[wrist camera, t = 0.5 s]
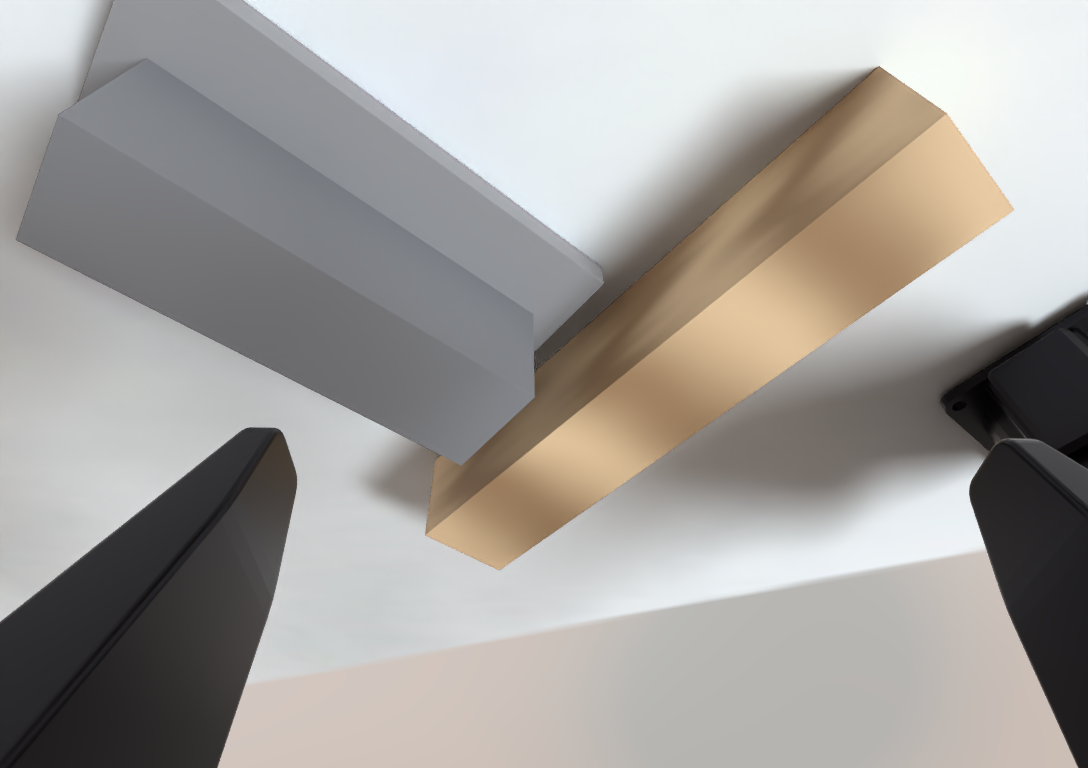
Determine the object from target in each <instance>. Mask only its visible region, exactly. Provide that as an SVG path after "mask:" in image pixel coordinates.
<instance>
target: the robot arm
mask: <svg viewBox="0 0 1088 768" xmlns="http://www.w3.org/2000/svg"><path fill="white" fill-rule="evenodd" d="M940 404H941V406H942V407H943V409H944V410H945V412H946V413H947V414H948V415H949V416H950V417H951V418H952V419H954V420H955V421H956V422H957V423H958V424H959V425H960V426H961V427H963V428H964V429H965V430H966V431H967V432H968V433H969V434H970V435H972V436H973V437H974V438H975V439H976V440H977V441H978V442H980V443H981V444H982V445H983V446H984V447H985V448H986V449H987V450H989V451H990V452H989V454H988V456H987V457H986V459H985V460H984V462H983V463H982V465H981V466H980V468H979V470H978V471H977V473H976V474H975V476H974V477H973V479H972V481H971V484H970V489H969V495H970V501H971V504H972V507H973V510H974V513H975V516H976V519H977V522H978V525H979V528H980V531H981V535H982V538H983V541H984V544H985V547H986V550H987V553H988V556H989V559H990V561H991V565H992V568H993V571H994V574H995V577H996V580H997V582H998V586H999V589H1000V592H1001V595H1002V597H1003V600H1004V603H1005V605H1006V608H1007V611H1008V613H1009V615H1010V618H1011V620H1012V623H1013V625H1014V627H1015V630H1016V631H1017V633H1018V636H1019V638H1020V641H1021V643H1022V645H1023V647H1024V649H1025V651H1026V654H1027V656H1028V658H1029V660H1030V663H1031V665H1032V667H1033V669H1034V671H1035V674H1036V675H1037V678H1038V680H1039V682H1040V684H1041V687H1042V689H1043V691H1044V693H1045V696H1046V698H1047V700H1048V702H1049V704H1050V707H1051V709H1052V711H1053V713H1054V715H1055V718H1056V720H1057V722H1058V724H1059V726H1060V729H1061V731H1062V733H1063V735H1064V737H1065V740H1066V742H1067V744H1068V746H1069V749H1070V751H1071V753H1072V755H1073V757H1074V759H1075V762H1076V764H1077V766H1078V768H1088V305H1086V306H1085V307H1083V308H1081V309H1080V310H1078V311H1077V312H1075V313H1073V314H1072V315H1070V316H1069V317H1067V318H1066V319H1064V320H1062V321H1061V322H1059V323H1058V324H1056V325H1054V326H1053V327H1051V328H1050V329H1048V330H1046V331H1045V332H1043V333H1042V334H1040V335H1038V336H1037V337H1035V338H1034V339H1032V340H1031V341H1029V342H1027V343H1026V344H1024V345H1023V346H1021V347H1019V348H1018V349H1016V350H1015V351H1013V352H1011V353H1010V354H1008V355H1007V356H1005V357H1003V358H1002V359H1000V360H999V361H997V362H995V363H994V364H992V365H991V366H989V367H988V368H986V369H984V370H983V371H981V372H980V373H978V374H976V375H975V376H973V377H972V378H970V379H968V380H967V381H965V382H964V383H962V384H960V385H959V386H957V387H956V388H954V389H952V390H951V391H949V392H948V393H946V394H945V395H944V396H943V397H942V399H941V401H940ZM296 489H297V475H296V470H295V467H294V464H293V461H292V458H291V455H290V452H289V449H288V446H287V443H286V440H285V437H284V435H283V433H282V432H281V431H280V430H279V429H276V428H252V427H251V428H246V429H244V430H242V431H241V432H239V433H238V434H237V435H235V436H234V437H233V438H232V439H230V440H229V441H228V442H227V443H225V444H224V445H223V446H221V447H220V448H219V449H218V450H216V451H215V452H214V453H213V454H211V455H210V456H209V457H208V458H206V459H205V460H204V461H203V462H201V463H200V464H199V465H198V466H196V467H195V468H194V469H192V470H191V471H190V472H189V473H187V474H186V475H185V476H184V477H182V478H181V479H180V480H179V481H177V482H176V483H175V484H174V485H172V486H171V487H170V488H168V489H167V490H166V491H165V492H163V493H162V494H161V495H160V496H158V497H157V498H156V499H155V500H153V501H152V502H151V503H150V504H148V505H147V506H146V507H145V508H143V509H142V510H141V511H139V512H138V513H137V514H136V515H134V516H133V517H132V518H131V519H129V520H128V521H127V522H126V523H124V524H123V525H122V526H121V527H119V528H118V529H117V530H116V531H114V532H113V533H112V534H110V535H109V536H108V537H107V538H105V539H104V540H103V541H102V542H100V543H99V544H98V545H97V546H95V547H94V548H93V549H92V550H90V551H89V552H88V553H87V554H85V555H84V556H83V557H81V558H80V559H79V560H78V561H76V562H75V563H74V564H73V565H71V566H70V567H69V568H68V569H66V570H65V571H64V572H63V573H61V574H60V575H59V576H58V577H56V578H55V579H54V580H52V581H51V582H50V583H49V584H47V585H46V586H45V587H44V588H42V589H41V590H40V591H39V592H37V593H36V594H35V595H34V596H32V597H31V598H30V599H29V600H27V601H26V602H25V603H23V604H22V605H21V606H20V607H18V608H17V609H16V610H15V611H13V612H12V613H11V614H10V615H8V616H7V617H6V618H5V619H3V620H2V621H1V622H0V768H217V767H218V764H219V761H220V758H221V755H222V752H223V749H224V746H225V743H226V740H227V737H228V734H229V731H230V728H231V725H232V722H233V719H234V716H235V713H236V710H237V707H238V704H239V701H240V698H241V695H242V692H243V689H244V686H245V683H246V680H247V678H248V675H249V672H250V669H251V666H252V663H253V660H254V657H255V654H256V651H257V648H258V645H259V642H260V639H261V636H262V633H263V630H264V627H265V624H266V621H267V618H268V614H269V611H270V608H271V605H272V601H273V597H274V593H275V589H276V585H277V580H278V576H279V571H280V566H281V561H282V556H283V552H284V547H285V542H286V537H287V533H288V528H289V523H290V518H291V513H292V509H293V504H294V499H295V494H296Z"/></svg>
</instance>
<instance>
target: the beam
mask: <svg viewBox="0 0 1088 768" xmlns="http://www.w3.org/2000/svg"><path fill="white" fill-rule="evenodd" d="M1012 211H1014V209H1013V207H1012V206H1011V204H1010V203H1009V201H1008V200H1007V199H1006V197H1005V196H1004V194H1003V193H1002V191H1001V190H1000V189H999V187H998V186H997V184H996V183H995V181H994V180H993V179H992V177H991V176H990V174H989V173H988V171H987V170H986V169H985V167H984V166H983V164H982V163H981V161H980V160H979V159H978V157H977V156H976V154H975V153H974V151H973V150H972V149H971V147H970V146H969V144H968V143H967V141H966V140H965V139H964V137H963V136H962V134H961V133H960V131H959V130H958V129H957V127H956V126H955V124H954V123H953V121H952V120H951V119H950V117H949V116H948V114H947V113H945V112H944V111H943V110H941V109H940V108H938V107H937V106H935V105H934V104H933V103H931V102H930V101H928V100H927V99H925V98H924V97H923V96H921V95H920V94H918V93H917V92H915V91H914V90H912V89H911V88H910V87H908V86H907V85H905V84H904V83H902V82H901V81H900V80H898V79H897V78H895V77H894V76H892V75H891V74H890V73H888V72H887V71H885V70H884V69H882V68H881V67H880V66H879V67H878V68H877V69H875V70H874V71H873V72H872V73H871V74H870V75H869V76H868V77H866V78H865V79H864V80H863V81H862V82H861V83H860V84H859V85H857V86H856V87H855V88H854V89H853V90H852V91H851V92H850V93H848V94H847V95H846V96H845V97H844V98H843V99H842V100H841V101H839V102H838V103H837V104H836V105H835V106H834V107H833V108H832V109H830V110H829V111H828V112H827V113H826V114H825V115H824V116H822V117H821V118H820V119H819V120H818V121H817V122H816V123H815V124H813V125H812V126H811V127H810V128H809V129H808V130H807V131H806V132H804V133H803V134H802V135H801V136H800V137H799V138H798V139H797V140H795V141H794V142H793V143H792V144H791V145H790V146H789V147H788V148H786V149H785V150H784V151H783V152H782V153H781V154H780V155H779V156H777V157H776V158H775V159H774V160H773V161H772V162H771V163H770V164H768V165H767V166H766V167H765V168H764V169H763V170H762V171H761V172H759V173H758V174H757V175H756V176H755V177H754V178H753V179H752V180H750V181H749V182H748V183H747V184H746V185H745V186H744V187H743V188H741V189H740V190H739V191H738V192H737V193H736V194H735V195H734V196H732V197H731V198H730V199H729V200H728V201H727V202H726V203H724V204H723V205H722V206H721V207H720V208H719V209H718V210H717V211H715V212H714V213H713V214H712V215H711V216H710V217H709V218H708V219H706V220H705V221H704V222H703V223H702V224H701V225H700V226H699V227H697V228H696V229H695V230H694V231H693V232H692V233H691V234H690V235H688V236H687V237H686V238H685V239H684V240H683V241H682V242H681V243H679V244H678V245H677V246H676V247H675V248H674V249H673V250H672V251H670V252H669V253H668V254H667V255H666V256H665V257H664V258H663V259H661V260H660V261H659V262H658V263H657V264H656V265H655V266H654V267H652V268H651V269H650V270H649V271H648V272H647V273H646V274H645V275H643V276H642V277H641V278H640V279H639V280H638V281H637V282H636V283H634V284H633V285H632V286H631V287H630V288H629V289H628V290H626V291H625V292H624V293H623V294H622V295H621V296H620V297H619V298H617V299H616V300H615V301H614V302H613V303H612V304H611V305H610V306H608V307H607V308H606V309H605V310H604V311H603V312H602V313H601V314H599V315H598V316H597V317H596V318H595V319H594V320H593V321H592V322H590V323H589V324H588V325H587V326H586V327H585V328H584V329H583V330H581V331H580V332H579V333H578V334H577V335H576V336H575V337H574V338H572V339H571V340H570V341H569V342H568V343H567V344H566V345H565V346H563V347H562V348H561V349H560V350H559V351H558V352H557V353H556V354H554V355H553V356H552V357H551V358H550V359H549V360H548V361H547V362H545V363H544V364H543V365H542V366H541V367H540V368H539V369H538V370H536V371H535V372H534V387H535V398H534V399H532V400H531V401H530V402H529V403H528V404H527V405H526V406H525V407H524V408H523V409H522V410H521V411H520V412H519V413H517V414H516V415H515V416H514V417H513V418H512V419H511V420H510V421H509V422H508V423H507V424H506V425H505V426H503V427H502V428H501V429H500V430H499V431H498V432H497V433H496V434H495V435H494V436H493V437H492V438H491V439H489V440H488V441H487V442H486V443H485V444H484V445H483V446H482V447H481V448H480V449H479V450H478V451H477V452H476V453H474V454H473V455H472V456H471V457H470V458H469V459H468V460H467V461H466V462H465V463H464V464H463V465H462V466H461V465H459V464H457V463H455V462H453V461H451V460H449V459H447V458H445V457H443V456H440V457H438V458H437V459H436V460H435V466H434V474H433V481H432V488H431V496H430V503H429V510H428V517H427V525H426V532H425V535H426V536H428V537H430V538H432V539H434V540H436V541H438V542H440V543H443V544H445V545H447V546H449V547H451V548H453V549H455V550H457V551H459V552H462V553H464V554H466V555H468V556H470V557H472V558H474V559H476V560H478V561H481V562H483V563H485V564H487V565H489V566H491V567H493V568H495V569H497V570H501V569H502V568H503V567H505V566H506V565H508V564H509V563H511V562H512V561H513V560H515V559H516V558H518V557H519V556H521V555H522V554H523V553H525V552H526V551H528V550H529V549H531V548H532V547H533V546H535V545H536V544H538V543H539V542H541V541H542V540H543V539H545V538H546V537H548V536H549V535H551V534H552V533H553V532H555V531H556V530H558V529H559V528H561V527H562V526H563V525H565V524H566V523H568V522H569V521H571V520H572V519H574V518H575V517H576V516H578V515H579V514H581V513H582V512H584V511H585V510H586V509H588V508H589V507H591V506H592V505H594V504H595V503H596V502H598V501H599V500H601V499H602V498H604V497H605V496H606V495H608V494H609V493H611V492H612V491H614V490H615V489H616V488H618V487H619V486H621V485H622V484H624V483H625V482H626V481H628V480H629V479H631V478H632V477H634V476H635V475H636V474H638V473H639V472H641V471H642V470H644V469H645V468H646V467H648V466H649V465H651V464H652V463H654V462H655V461H656V460H658V459H659V458H661V457H662V456H664V455H665V454H666V453H668V452H669V451H671V450H672V449H674V448H675V447H676V446H678V445H679V444H681V443H682V442H684V441H685V440H686V439H688V438H689V437H691V436H692V435H694V434H695V433H696V432H698V431H699V430H701V429H702V428H704V427H705V426H706V425H708V424H709V423H711V422H712V421H714V420H715V419H716V418H718V417H719V416H721V415H722V414H724V413H725V412H726V411H728V410H729V409H731V408H732V407H734V406H735V405H736V404H738V403H739V402H741V401H742V400H744V399H745V398H746V397H748V396H749V395H751V394H752V393H754V392H755V391H756V390H758V389H759V388H761V387H762V386H764V385H765V384H766V383H768V382H769V381H771V380H772V379H774V378H775V377H776V376H778V375H779V374H781V373H782V372H784V371H785V370H786V369H788V368H789V367H791V366H792V365H794V364H795V363H796V362H798V361H799V360H801V359H802V358H804V357H805V356H806V355H808V354H809V353H811V352H812V351H814V350H815V349H816V348H818V347H819V346H821V345H822V344H824V343H825V342H826V341H828V340H829V339H831V338H832V337H834V336H835V335H836V334H838V333H839V332H841V331H842V330H844V329H845V328H846V327H848V326H849V325H851V324H852V323H854V322H855V321H856V320H858V319H859V318H861V317H862V316H864V315H865V314H866V313H868V312H869V311H871V310H872V309H874V308H875V307H876V306H878V305H879V304H881V303H882V302H884V301H885V300H886V299H888V298H889V297H891V296H892V295H894V294H895V293H896V292H898V291H899V290H901V289H902V288H904V287H905V286H906V285H908V284H909V283H911V282H912V281H914V280H915V279H916V278H918V277H919V276H921V275H922V274H924V273H925V272H926V271H928V270H929V269H931V268H932V267H934V266H935V265H936V264H938V263H939V262H941V261H942V260H944V259H945V258H946V257H948V256H949V255H951V254H952V253H954V252H955V251H956V250H958V249H959V248H961V247H962V246H964V245H965V244H967V243H968V242H969V241H971V240H972V239H974V238H975V237H977V236H978V235H979V234H981V233H982V232H984V231H985V230H987V229H988V228H989V227H991V226H992V225H994V224H995V223H997V222H998V221H999V220H1001V219H1002V218H1004V217H1005V216H1007V215H1008V214H1009V213H1011V212H1012Z"/></svg>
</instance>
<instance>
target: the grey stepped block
mask: <svg viewBox="0 0 1088 768" xmlns="http://www.w3.org/2000/svg"><path fill="white" fill-rule="evenodd" d="M16 240H17V241H19V242H21V243H23V244H25V245H27V246H29V247H31V248H33V249H35V250H37V251H39V252H41V253H43V254H45V255H47V256H49V257H51V258H53V259H55V260H57V261H59V262H60V263H62V264H64V265H66V266H68V267H70V268H72V269H74V270H76V271H78V272H80V273H82V274H84V275H86V276H88V277H90V278H92V279H94V280H96V281H98V282H100V283H102V284H104V285H106V286H108V287H110V288H112V289H114V290H116V291H118V292H120V293H122V294H124V295H126V296H128V297H130V298H132V299H133V300H135V301H137V302H139V303H141V304H143V305H145V306H147V307H149V308H151V309H153V310H155V311H157V312H159V313H161V314H163V315H165V316H167V317H169V318H171V319H173V320H175V321H177V322H179V323H181V324H183V325H185V326H187V327H189V328H191V329H193V330H195V331H197V332H199V333H201V334H203V335H204V336H206V337H208V338H210V339H212V340H214V341H216V342H218V343H220V344H222V345H224V346H226V347H228V348H230V349H232V350H234V351H236V352H238V353H240V354H242V355H244V356H246V357H248V358H250V359H252V360H254V361H256V362H258V363H260V364H262V365H264V366H266V367H268V368H270V369H272V370H274V371H276V372H277V373H279V374H281V375H283V376H285V377H287V378H289V379H291V380H293V381H295V382H297V383H299V384H301V385H303V386H305V387H307V388H309V389H311V390H313V391H315V392H317V393H319V394H321V395H323V396H325V397H327V398H329V399H331V400H333V401H335V402H337V403H339V404H341V405H343V406H345V407H347V408H348V409H350V410H352V411H354V412H356V413H358V414H360V415H362V416H364V417H366V418H368V419H370V420H372V421H374V422H376V423H378V424H380V425H382V426H384V427H386V428H388V429H390V430H392V431H394V432H396V433H398V434H400V435H402V436H404V437H406V438H408V439H410V440H412V441H414V442H416V443H418V444H420V445H421V446H423V447H425V448H427V449H429V450H431V451H433V452H435V453H437V454H439V455H441V456H443V457H445V458H447V459H449V460H451V461H453V462H455V463H457V464H459V465H461V466H462V465H463V464H464V463H465V462H466V461H467V460H468V459H469V458H470V457H471V456H472V455H473V454H474V453H476V452H477V451H478V450H479V449H480V448H481V447H482V446H483V445H484V444H485V443H486V442H487V441H488V440H489V439H491V438H492V437H493V436H494V435H495V434H496V433H497V432H498V431H499V430H500V429H501V428H502V427H503V426H505V425H506V424H507V423H508V422H509V421H510V420H511V419H512V418H513V417H514V416H515V415H516V414H517V413H519V412H520V411H521V410H522V409H523V408H524V407H525V406H526V405H527V404H528V403H529V402H530V401H531V400H532V399H534V398H535V387H534V352H535V351H536V350H537V349H538V348H539V347H540V346H541V345H542V344H543V343H544V342H545V341H546V340H547V339H548V338H549V337H550V336H551V335H552V334H554V333H555V332H556V331H557V330H558V329H559V328H560V327H561V326H562V325H563V324H564V323H565V322H566V321H567V320H568V319H569V318H570V317H571V316H572V315H573V314H574V313H575V312H576V311H577V310H578V309H579V308H580V307H581V306H582V305H583V304H584V303H585V302H586V301H587V300H588V299H589V298H590V297H591V296H592V295H593V294H594V293H595V292H596V291H597V290H598V289H599V288H600V287H601V286H602V285H603V284H604V280H603V274H602V268H601V266H599V265H598V264H597V263H595V262H594V261H593V260H591V259H590V258H589V257H587V256H586V255H585V254H583V253H582V252H580V251H579V250H578V249H576V248H575V247H574V246H572V245H571V244H570V243H568V242H567V241H566V240H564V239H563V238H562V237H560V236H559V235H558V234H556V233H555V232H554V231H552V230H551V229H550V228H548V227H547V226H546V225H544V224H543V223H542V222H540V221H539V220H537V219H536V218H535V217H533V216H532V215H531V214H529V213H528V212H527V211H525V210H524V209H523V208H521V207H520V206H519V205H517V204H516V203H515V202H513V201H512V200H511V199H509V198H508V197H507V196H505V195H504V194H503V193H501V192H500V191H499V190H497V189H496V188H494V187H493V186H492V185H490V184H489V183H488V182H486V181H485V180H484V179H482V178H481V177H480V176H478V175H477V174H476V173H474V172H473V171H472V170H470V169H469V168H468V167H466V166H465V165H464V164H462V163H461V162H460V161H458V160H457V159H456V158H454V157H453V156H451V155H450V154H449V153H447V152H446V151H445V150H443V149H442V148H441V147H439V146H438V145H437V144H435V143H434V142H433V141H431V140H430V139H429V138H427V137H426V136H425V135H423V134H422V133H421V132H419V131H418V130H417V129H415V128H414V127H413V126H411V125H410V124H408V123H407V122H406V121H404V120H403V119H402V118H400V117H399V116H398V115H396V114H395V113H394V112H392V111H391V110H390V109H388V108H387V107H386V106H384V105H383V104H382V103H380V102H379V101H378V100H376V99H375V98H374V97H372V96H371V95H370V94H368V93H367V92H365V91H364V90H363V89H361V88H360V87H359V86H357V85H356V84H355V83H353V82H352V81H351V80H349V79H348V78H347V77H345V76H344V75H343V74H341V73H340V72H339V71H337V70H336V69H335V68H333V67H332V66H331V65H329V64H328V63H327V62H325V61H324V60H322V59H321V58H320V57H318V56H317V55H316V54H314V53H313V52H312V51H310V50H309V49H308V48H306V47H305V46H304V45H302V44H301V43H300V42H298V41H297V40H296V39H294V38H293V37H292V36H290V35H289V34H288V33H286V32H285V31H284V30H282V29H281V28H279V27H278V26H277V25H275V24H274V23H273V22H271V21H270V20H269V19H267V18H266V17H265V16H263V15H262V14H261V13H259V12H258V11H257V10H255V9H254V8H253V7H251V6H250V5H249V4H247V3H246V2H245V1H243V0H114V2H113V4H112V7H111V10H110V13H109V16H108V18H107V21H106V24H105V27H104V30H103V32H102V35H101V38H100V41H99V44H98V46H97V49H96V52H95V55H94V58H93V60H92V63H91V66H90V69H89V72H88V74H87V77H86V80H85V83H84V86H83V88H82V91H81V94H80V97H79V100H78V103H76V104H74V105H73V106H71V107H70V108H68V109H67V110H65V111H63V112H62V113H60V114H59V115H58V118H57V121H56V124H55V127H54V130H53V133H52V136H51V139H50V141H49V144H48V147H47V150H46V153H45V156H44V159H43V162H42V165H41V168H40V171H39V174H38V176H37V179H36V182H35V185H34V188H33V191H32V194H31V197H30V200H29V203H28V206H27V208H26V211H25V214H24V217H23V220H22V223H21V226H20V229H19V232H18V235H17V238H16Z"/></svg>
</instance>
